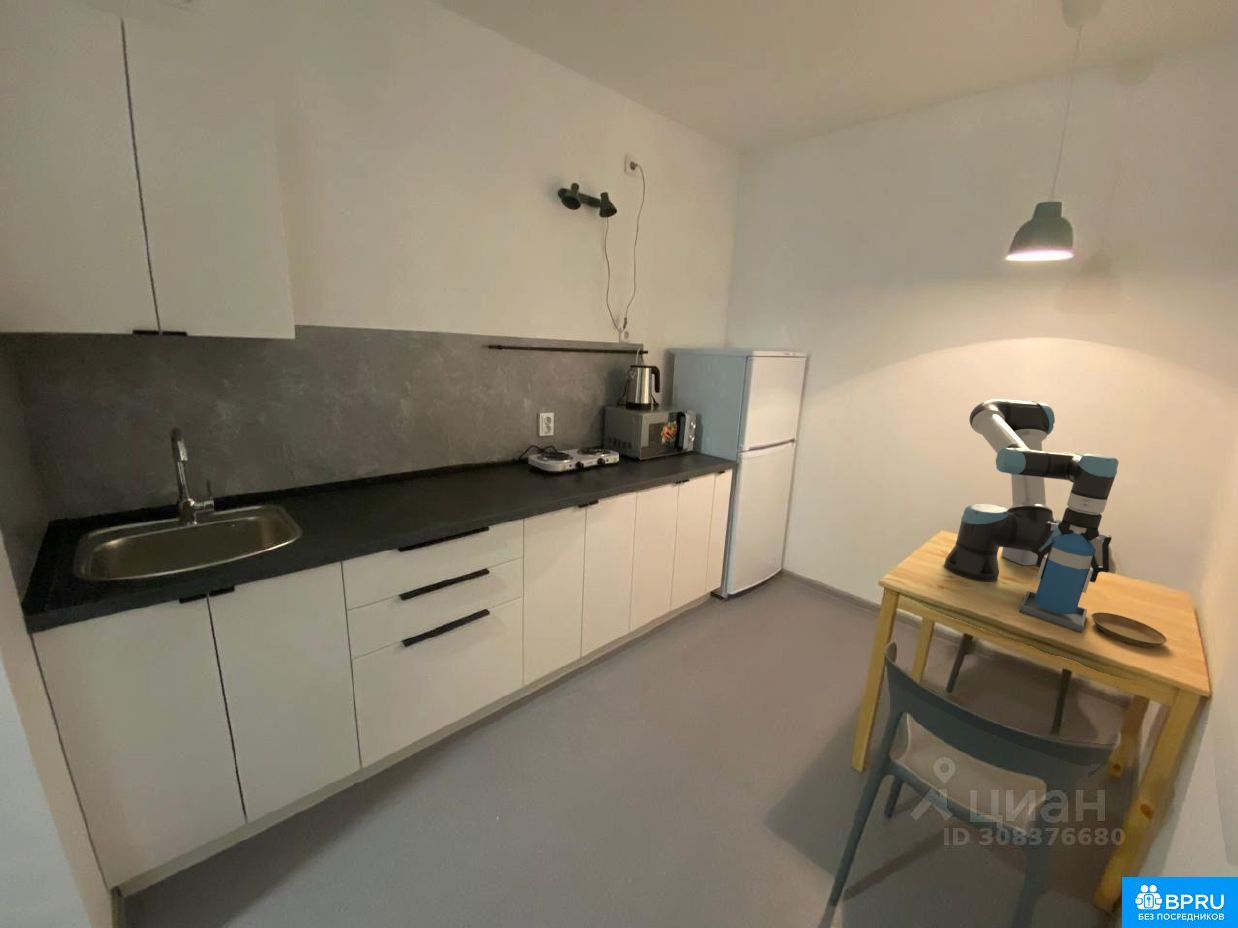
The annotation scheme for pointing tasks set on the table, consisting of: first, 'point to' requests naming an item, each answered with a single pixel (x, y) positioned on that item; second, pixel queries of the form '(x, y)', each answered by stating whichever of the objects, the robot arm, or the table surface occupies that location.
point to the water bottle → (1065, 572)
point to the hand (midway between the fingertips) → (1061, 584)
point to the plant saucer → (1128, 630)
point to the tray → (1053, 614)
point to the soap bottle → (1020, 556)
